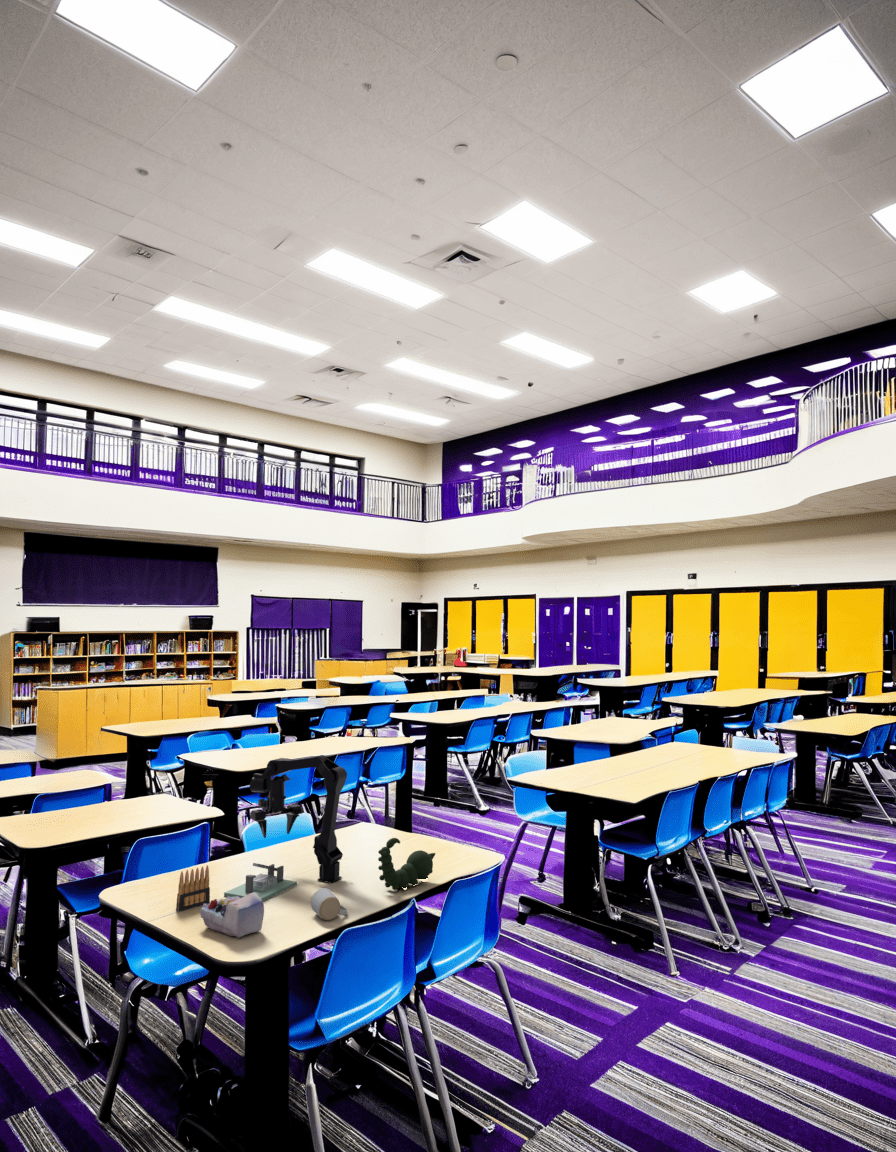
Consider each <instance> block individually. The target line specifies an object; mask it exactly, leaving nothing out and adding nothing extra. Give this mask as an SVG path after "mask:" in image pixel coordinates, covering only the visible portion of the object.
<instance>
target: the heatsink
mask: <svg viewBox="0 0 896 1152" xmlns="http://www.w3.org/2000/svg"><path fill="white" fill-rule="evenodd" d="M276 885H277V875H274V876H272V875H268V874H265V873H259V874H257V875H256V877H255V878H253V890H255V891H260V892H263V891H265V890H267V889H269V888H272V887H274V886H276Z"/></svg>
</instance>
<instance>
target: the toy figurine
mask: <svg viewBox="0 0 896 1152" xmlns="http://www.w3.org/2000/svg"><path fill="white" fill-rule="evenodd" d="M396 844H401V840H399V838H397V837H392V838H390V839H388V840H387V842H386V844H385V845H386V846H383V847H381V848H380V849H379V850H378V854H379V855H380V856H379V857H378V858H377V859H378V862H380V863H381V864H380V865H379V866H378V870H379V871H382V874H381V875H379V878H378V879H379V880H380V881H384V886H385V888H390V887H391V889H392V890H393V891H397V890H398V889H399V888H398V887H403V888H406V887H408V888H409V886H408V885H411V884H413V885H415V884H419V881H418V879H426V878H428V879H429V875H431V874H432V873H433V871H434V870H433V868H434V863H433V859H434V858H435V856H436V852H431V853H428V852H426V851H425V850H421V849H420V850H416V851H413V852H412V853H411V854H410V855H408V857H407V859H406V863H405V864H403V865H401V867H400V868H398V869H395V868H394V866H395V865H394V862H392V861H393V857H392V855H391V849H392V848H393V847H395V845H396Z"/></svg>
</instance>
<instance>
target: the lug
mask: <svg viewBox="0 0 896 1152" xmlns="http://www.w3.org/2000/svg"><path fill="white" fill-rule="evenodd" d="M256 876H257V875H255V874H246V875H245V883H246V887H245V892H246V893H253V878H255V877H256Z"/></svg>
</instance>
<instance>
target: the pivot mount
mask: <svg viewBox="0 0 896 1152" xmlns="http://www.w3.org/2000/svg"><path fill="white" fill-rule="evenodd" d="M268 866H270V867H274V868H275V864H274V863H272V864H270V865H268ZM276 868H277V871H276V876H277V882H278V883H279V882H281V881H283V879H284V865H279V866H277V867H276ZM267 875H272V876H275V871H273V870H269V869H267Z"/></svg>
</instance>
